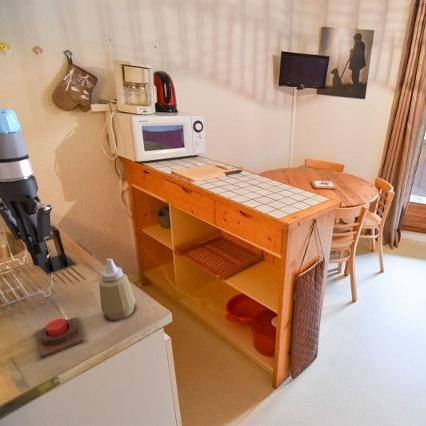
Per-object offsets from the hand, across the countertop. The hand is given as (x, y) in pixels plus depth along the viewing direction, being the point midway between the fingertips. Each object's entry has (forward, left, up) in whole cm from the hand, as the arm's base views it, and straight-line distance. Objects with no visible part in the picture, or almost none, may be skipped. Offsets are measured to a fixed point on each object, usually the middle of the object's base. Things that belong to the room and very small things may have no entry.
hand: (41, 263), depth 84 cm
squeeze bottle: (+19, +1, -15) cm, 24 cm away
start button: (+11, -10, -12) cm, 19 cm away
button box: (+11, -10, -15) cm, 21 cm away
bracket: (-16, +19, -15) cm, 29 cm away
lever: (-21, +22, -3) cm, 31 cm away
